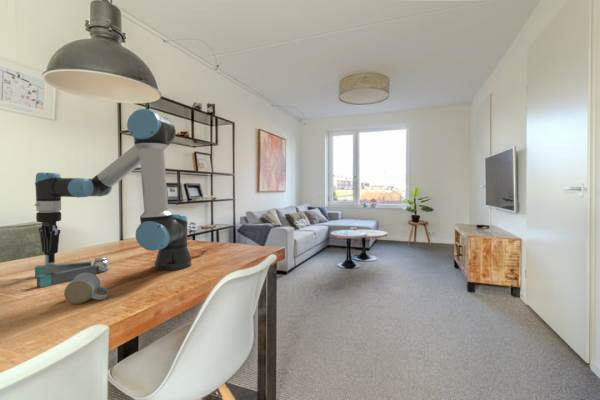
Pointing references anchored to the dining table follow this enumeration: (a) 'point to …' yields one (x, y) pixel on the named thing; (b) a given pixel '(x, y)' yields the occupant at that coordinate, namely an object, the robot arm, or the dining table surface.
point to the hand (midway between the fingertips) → (50, 270)
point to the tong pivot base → (71, 274)
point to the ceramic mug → (84, 289)
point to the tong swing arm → (62, 266)
